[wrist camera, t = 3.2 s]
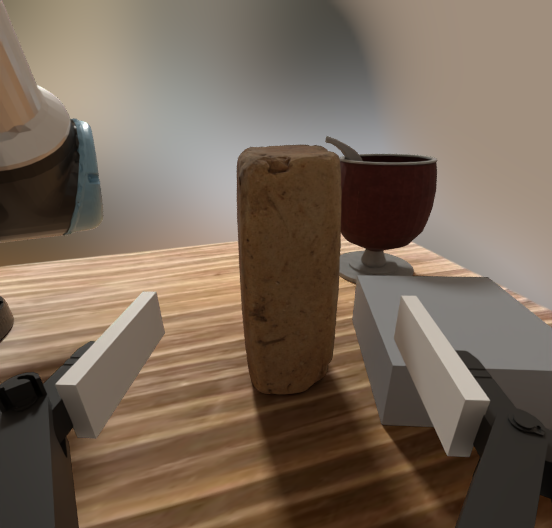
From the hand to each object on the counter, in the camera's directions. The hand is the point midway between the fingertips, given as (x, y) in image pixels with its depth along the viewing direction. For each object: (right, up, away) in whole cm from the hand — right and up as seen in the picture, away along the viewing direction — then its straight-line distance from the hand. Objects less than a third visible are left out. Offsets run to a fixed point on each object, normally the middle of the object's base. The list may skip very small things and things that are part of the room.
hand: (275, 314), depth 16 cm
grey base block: (+16, -7, +13) cm, 22 cm away
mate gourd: (+15, +2, +33) cm, 36 cm away
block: (+1, -7, +14) cm, 16 cm away
